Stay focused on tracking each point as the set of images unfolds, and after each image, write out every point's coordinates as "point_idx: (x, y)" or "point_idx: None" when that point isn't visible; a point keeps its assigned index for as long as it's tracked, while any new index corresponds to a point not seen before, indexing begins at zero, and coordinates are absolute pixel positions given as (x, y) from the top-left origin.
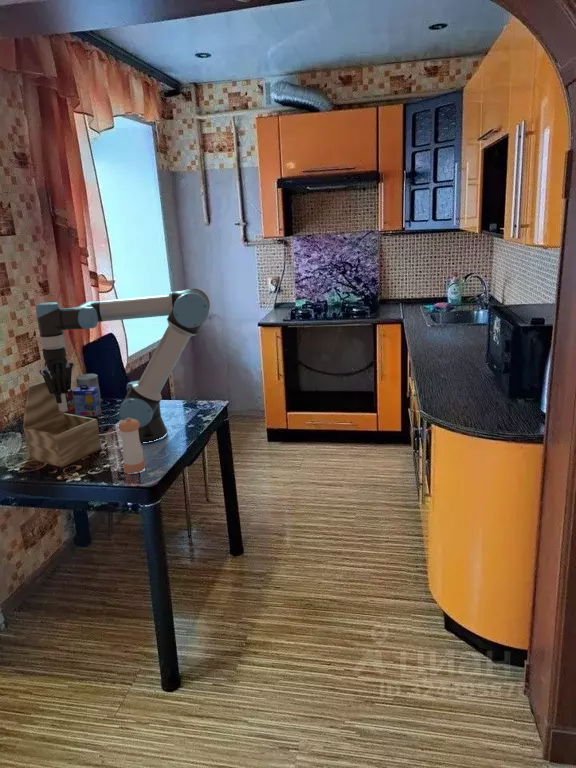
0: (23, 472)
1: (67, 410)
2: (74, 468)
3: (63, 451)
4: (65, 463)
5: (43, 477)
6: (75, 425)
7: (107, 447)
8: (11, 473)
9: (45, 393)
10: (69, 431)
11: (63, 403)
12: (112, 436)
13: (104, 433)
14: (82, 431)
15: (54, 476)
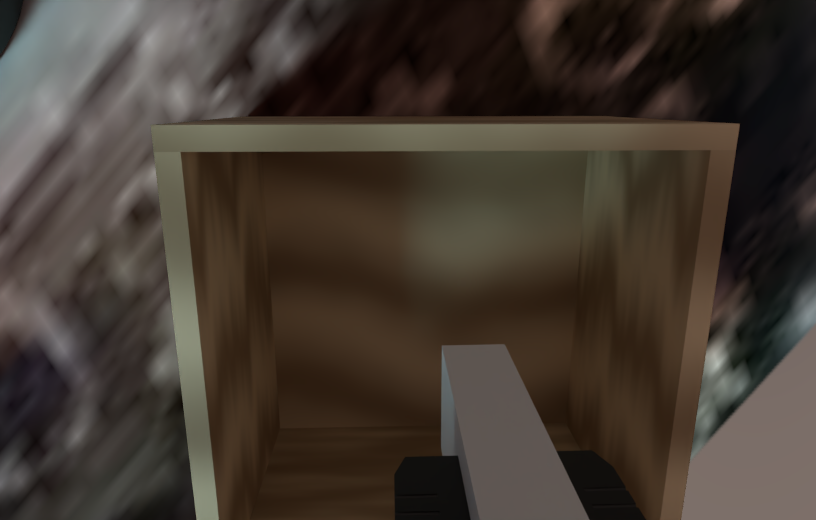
0: (739, 284)
1: (446, 345)
2: (584, 13)
3: (610, 118)
4: (575, 116)
5: (764, 97)
6: (240, 404)
7: (201, 95)
8: (771, 337)
9: None
10: (566, 124)
11: (530, 410)
12: (35, 234)
13: (32, 335)
14: (391, 122)
15: (731, 37)
